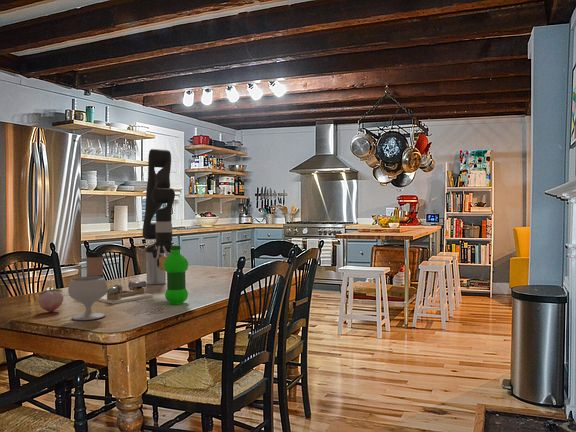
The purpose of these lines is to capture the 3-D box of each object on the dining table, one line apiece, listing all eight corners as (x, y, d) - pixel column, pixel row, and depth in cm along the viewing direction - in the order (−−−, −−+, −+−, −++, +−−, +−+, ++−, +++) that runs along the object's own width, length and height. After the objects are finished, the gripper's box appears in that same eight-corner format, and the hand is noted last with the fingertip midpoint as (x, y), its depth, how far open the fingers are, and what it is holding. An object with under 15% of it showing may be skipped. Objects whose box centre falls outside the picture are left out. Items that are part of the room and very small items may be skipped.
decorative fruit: (56, 308, 217) (56, 284, 216) (66, 311, 211) (66, 286, 211) (33, 312, 209) (33, 287, 209) (43, 315, 204) (43, 289, 204)
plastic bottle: (165, 306, 218) (164, 246, 217) (164, 302, 228) (163, 244, 228) (189, 304, 221) (188, 245, 220) (187, 300, 231) (186, 244, 230)
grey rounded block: (113, 297, 235) (112, 284, 235) (123, 297, 235) (123, 284, 234) (105, 300, 227) (104, 287, 227) (116, 300, 227) (115, 287, 226)
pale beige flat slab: (130, 293, 253) (130, 287, 253) (152, 297, 241) (152, 291, 241) (92, 299, 238) (92, 293, 238) (113, 303, 226) (113, 297, 226)
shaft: (142, 291, 250) (141, 279, 250) (148, 292, 247) (147, 280, 247) (127, 293, 244) (126, 281, 244) (133, 294, 241) (132, 282, 241)
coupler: (165, 268, 246) (165, 255, 246) (172, 269, 243) (172, 256, 243) (156, 269, 243) (156, 256, 242) (163, 270, 239) (163, 257, 239)
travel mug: (106, 291, 261) (105, 251, 260) (99, 293, 253) (98, 252, 253) (91, 291, 261) (90, 251, 261) (84, 293, 254) (83, 252, 253)
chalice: (112, 313, 206) (112, 275, 205) (101, 321, 192) (100, 280, 191) (76, 314, 205) (75, 276, 205) (62, 322, 191) (61, 281, 191)
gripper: (146, 231, 242) (147, 267, 242) (171, 232, 236) (171, 269, 236) (157, 230, 249) (157, 265, 249) (181, 230, 242) (182, 267, 243)
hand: (164, 267), depth 243 cm, fingers closed on coupler, 5 cm apart
